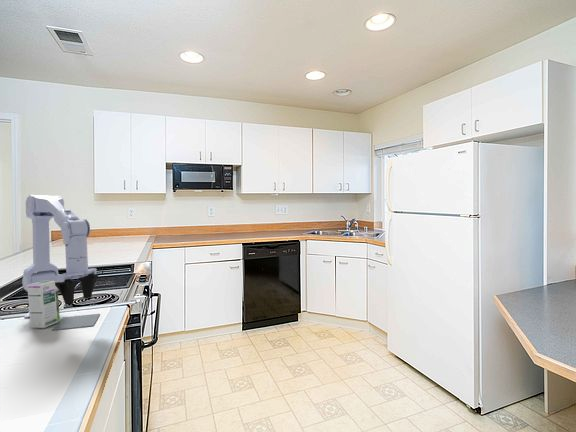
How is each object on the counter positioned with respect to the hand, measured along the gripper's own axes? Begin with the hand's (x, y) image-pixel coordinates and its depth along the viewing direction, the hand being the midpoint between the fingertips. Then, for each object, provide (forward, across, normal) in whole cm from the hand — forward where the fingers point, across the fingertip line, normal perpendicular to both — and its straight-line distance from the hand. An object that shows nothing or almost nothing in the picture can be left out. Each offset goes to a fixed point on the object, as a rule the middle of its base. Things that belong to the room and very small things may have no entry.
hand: (78, 300), depth 99 cm
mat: (+9, +9, +8) cm, 16 cm away
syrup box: (+9, +5, +17) cm, 19 cm away
